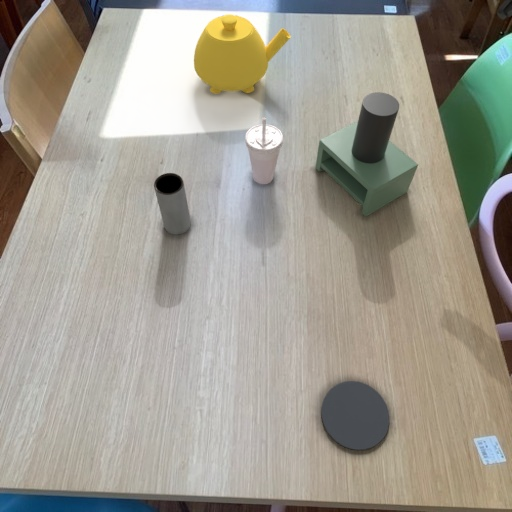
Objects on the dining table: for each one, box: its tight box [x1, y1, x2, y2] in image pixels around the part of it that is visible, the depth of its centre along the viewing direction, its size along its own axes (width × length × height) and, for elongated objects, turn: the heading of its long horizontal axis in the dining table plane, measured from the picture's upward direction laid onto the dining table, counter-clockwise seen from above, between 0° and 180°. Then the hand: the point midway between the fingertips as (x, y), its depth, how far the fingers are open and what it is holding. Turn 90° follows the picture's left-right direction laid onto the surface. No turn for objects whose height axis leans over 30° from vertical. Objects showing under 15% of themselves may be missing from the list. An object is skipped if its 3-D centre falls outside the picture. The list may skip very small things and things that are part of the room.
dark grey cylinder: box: [352, 91, 400, 164], centre depth 77 cm, size 6×6×10 cm
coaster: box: [320, 380, 390, 451], centre depth 63 cm, size 9×9×1 cm
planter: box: [153, 172, 192, 236], centre depth 77 cm, size 4×4×10 cm
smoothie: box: [244, 116, 284, 185], centre depth 82 cm, size 6×6×14 cm
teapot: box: [193, 14, 292, 95], centre depth 98 cm, size 20×16×14 cm
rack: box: [315, 120, 419, 217], centre depth 84 cm, size 14×10×7 cm
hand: (475, 2), depth 67 cm, fingers open, 8 cm apart
